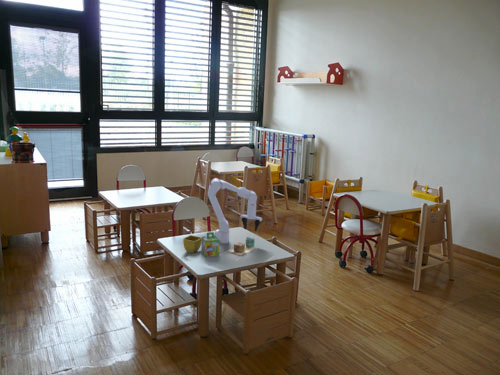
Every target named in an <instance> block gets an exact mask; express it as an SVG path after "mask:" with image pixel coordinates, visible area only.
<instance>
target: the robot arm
mask: <svg viewBox="0 0 500 375" xmlns="http://www.w3.org/2000/svg"><path fill="white" fill-rule="evenodd" d="M224 189H227V190H229V191H232V192H234V193H236V194H237V196H239V197H242V198H244V199H246V200H247V209H246V210H247V213H246V214H240V218H241V222H242V224H243V227H244V230H246V229H247V228H248V220H254V231H255V232H256V231H258V228H259V225H260V224H261V222H262V221H263V217H260V216H257V200H258V196H257V194H256V192H255V191H254V190H252V189H250V190H249V189H247V188H246V187H245V186H243V187H242V186H240V187H237V186H235V185H234V184H231V183H230V182H227V181H225V180H223V179H219V178H217V177H215V178H212V179H211V180H210V183H209V185H208V190H207V197H208V200H209V202H210V204H211V207H212V210H213V211H214V214H215V216H216V219H217V222H218V225H219V226H218V227H219V229H216V230H215V231H214V236H216V237H217V238H218V239H219V240H220V244H228V243H230V225H229V220H227V219H226V217H225V215H224V213H223V211H222V208H221V205H220V203H219V200H218V198H217V196H216V195H217V193H218V192H219V191H220V190H224Z"/></svg>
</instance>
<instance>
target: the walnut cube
mask: <svg viewBox="0 0 500 375" xmlns="http://www.w3.org/2000/svg"><path fill="white" fill-rule="evenodd" d="M245 245H246V243H244V242H243V243H242V242H239V241H238V242H235V243H234V244H233V247H234V252H238V253H242V252H244V251H245Z"/></svg>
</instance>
